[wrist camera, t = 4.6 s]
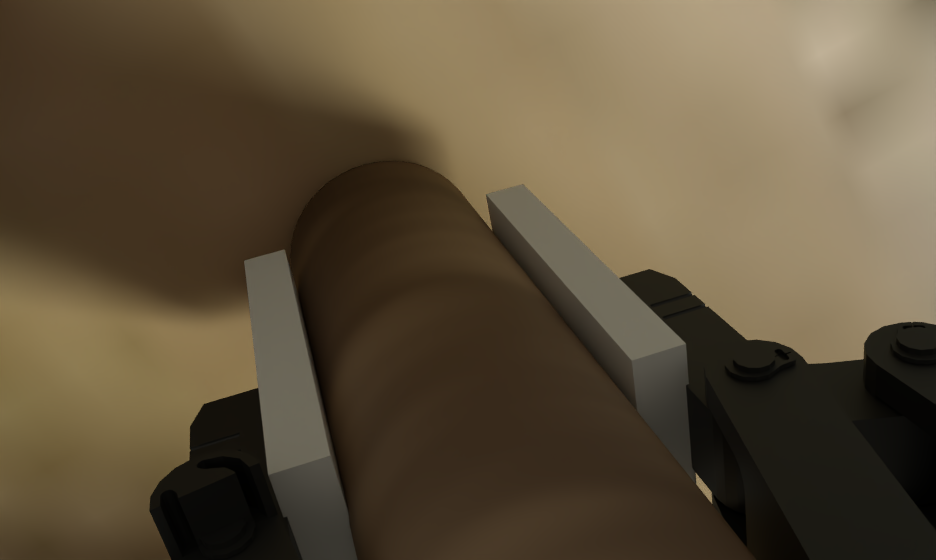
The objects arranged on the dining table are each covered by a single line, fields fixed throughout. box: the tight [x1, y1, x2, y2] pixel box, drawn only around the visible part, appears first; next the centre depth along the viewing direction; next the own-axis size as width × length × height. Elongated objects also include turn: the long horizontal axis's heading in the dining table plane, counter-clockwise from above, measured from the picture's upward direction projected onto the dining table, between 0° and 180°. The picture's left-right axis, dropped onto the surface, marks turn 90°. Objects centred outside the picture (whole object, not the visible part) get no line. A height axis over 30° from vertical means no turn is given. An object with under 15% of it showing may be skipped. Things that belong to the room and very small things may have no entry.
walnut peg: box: [290, 161, 757, 560], centre depth 13 cm, size 4×4×12 cm
